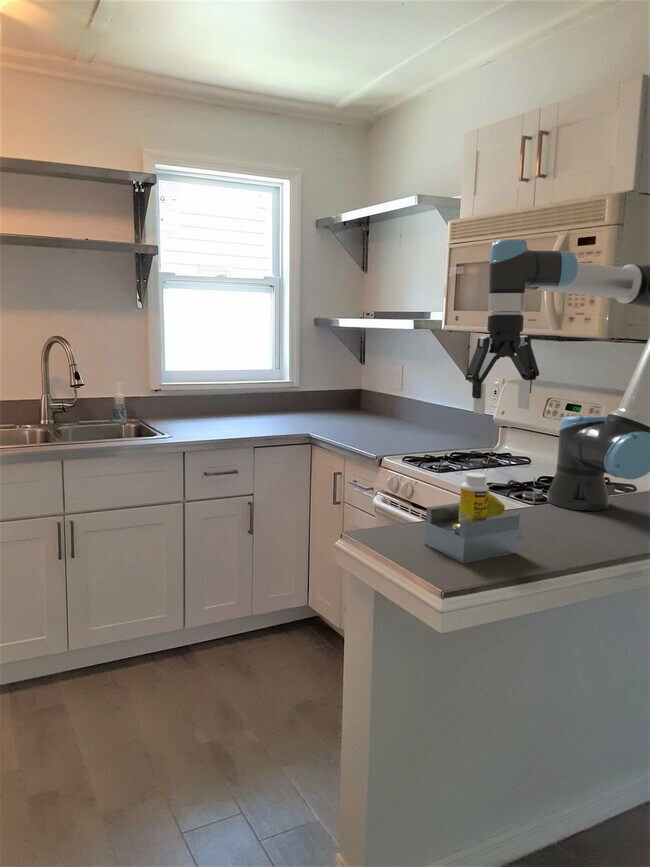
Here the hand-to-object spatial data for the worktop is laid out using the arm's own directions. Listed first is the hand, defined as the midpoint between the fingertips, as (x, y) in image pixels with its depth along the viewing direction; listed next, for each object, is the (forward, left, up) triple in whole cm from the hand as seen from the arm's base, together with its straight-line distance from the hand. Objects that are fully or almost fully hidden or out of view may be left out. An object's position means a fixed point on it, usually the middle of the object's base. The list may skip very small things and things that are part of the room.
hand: (501, 410), depth 150 cm
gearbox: (+16, +10, -27) cm, 32 cm away
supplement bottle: (+16, +10, -21) cm, 28 cm away
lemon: (+3, -2, -27) cm, 27 cm away
